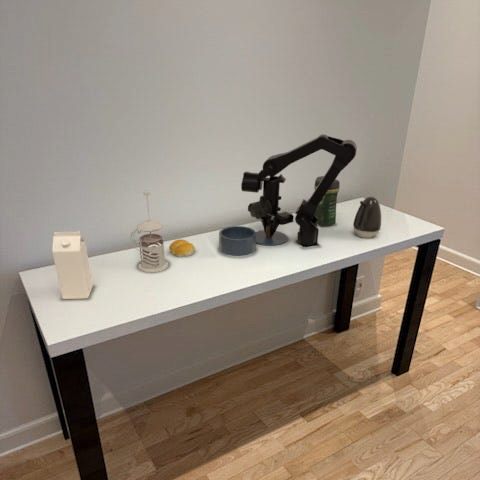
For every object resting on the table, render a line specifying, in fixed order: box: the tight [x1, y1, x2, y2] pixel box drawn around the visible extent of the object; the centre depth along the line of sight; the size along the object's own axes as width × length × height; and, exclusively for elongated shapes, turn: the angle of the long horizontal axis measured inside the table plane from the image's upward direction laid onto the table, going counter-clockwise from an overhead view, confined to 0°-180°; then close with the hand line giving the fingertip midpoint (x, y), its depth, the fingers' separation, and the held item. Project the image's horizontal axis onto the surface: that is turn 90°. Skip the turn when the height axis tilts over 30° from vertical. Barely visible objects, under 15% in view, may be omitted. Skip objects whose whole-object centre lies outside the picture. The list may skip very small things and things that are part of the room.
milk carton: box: [51, 231, 94, 300], centre depth 125 cm, size 7×7×19 cm
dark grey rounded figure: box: [352, 196, 382, 239], centre depth 167 cm, size 10×10×15 cm
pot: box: [218, 225, 257, 257], centre depth 156 cm, size 13×13×6 cm
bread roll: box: [168, 238, 196, 258], centre depth 154 cm, size 8×9×4 cm
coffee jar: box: [313, 175, 341, 227], centre depth 177 cm, size 10×8×19 cm
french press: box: [130, 190, 169, 273], centre depth 140 cm, size 10×12×25 cm
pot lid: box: [255, 225, 289, 247], centre depth 164 cm, size 14×14×6 cm
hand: (269, 234), depth 164 cm, fingers closed on pot lid, 2 cm apart
